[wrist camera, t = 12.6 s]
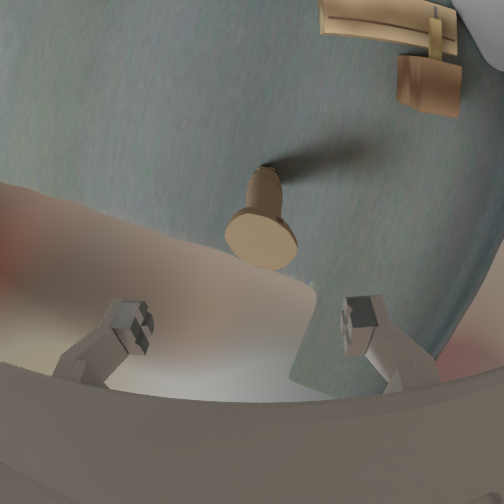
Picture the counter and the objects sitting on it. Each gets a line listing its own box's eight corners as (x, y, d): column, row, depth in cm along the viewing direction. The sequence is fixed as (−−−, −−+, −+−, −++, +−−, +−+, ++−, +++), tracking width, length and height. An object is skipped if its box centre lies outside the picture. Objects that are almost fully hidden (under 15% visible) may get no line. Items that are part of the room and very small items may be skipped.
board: (317, -11, 23) (321, -18, 20) (441, 12, 22) (456, 10, 19) (320, 34, 27) (325, 32, 24) (443, 53, 25) (457, 55, 23)
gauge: (396, 17, 24) (421, 12, 18) (432, 26, 24) (461, 24, 18) (396, 100, 30) (420, 111, 25) (430, 105, 30) (458, 118, 24)
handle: (257, 147, 36) (248, 202, 24) (297, 177, 38) (308, 245, 26) (234, 175, 38) (214, 241, 26) (273, 203, 40) (272, 278, 28)
